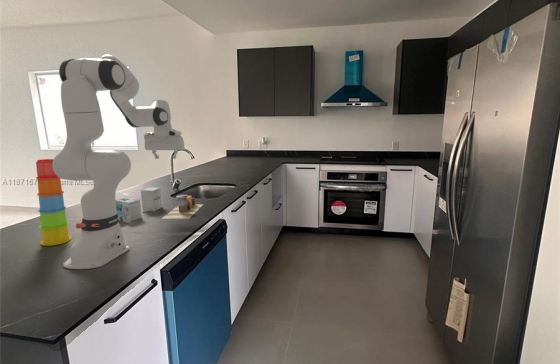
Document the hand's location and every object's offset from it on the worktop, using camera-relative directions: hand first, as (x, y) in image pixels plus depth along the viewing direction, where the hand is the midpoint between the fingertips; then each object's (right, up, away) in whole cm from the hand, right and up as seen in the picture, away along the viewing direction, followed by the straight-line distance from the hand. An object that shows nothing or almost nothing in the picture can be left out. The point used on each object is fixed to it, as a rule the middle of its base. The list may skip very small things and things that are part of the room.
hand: (165, 158), depth 160 cm
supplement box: (-10, -29, +7) cm, 31 cm away
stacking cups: (-33, -38, -34) cm, 61 cm away
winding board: (+9, -29, +2) cm, 31 cm away
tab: (+9, -27, +9) cm, 29 cm away
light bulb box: (-15, -32, -8) cm, 36 cm away
